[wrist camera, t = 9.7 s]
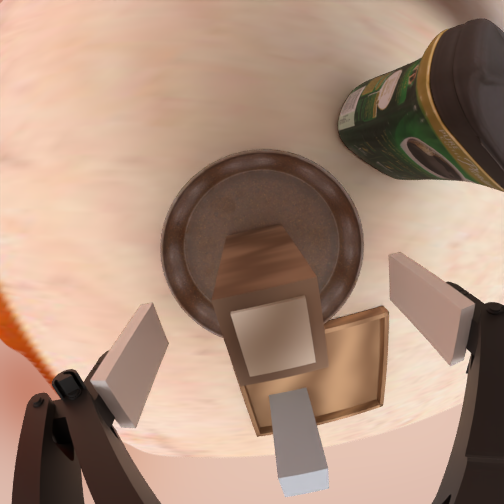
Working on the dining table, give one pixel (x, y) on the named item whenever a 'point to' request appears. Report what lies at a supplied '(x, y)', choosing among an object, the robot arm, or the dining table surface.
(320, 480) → the plain carton
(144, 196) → the dining table surface
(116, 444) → the robot arm
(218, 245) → the plant saucer
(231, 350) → the labelled carton
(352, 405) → the parts tray
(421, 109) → the coffee jar
